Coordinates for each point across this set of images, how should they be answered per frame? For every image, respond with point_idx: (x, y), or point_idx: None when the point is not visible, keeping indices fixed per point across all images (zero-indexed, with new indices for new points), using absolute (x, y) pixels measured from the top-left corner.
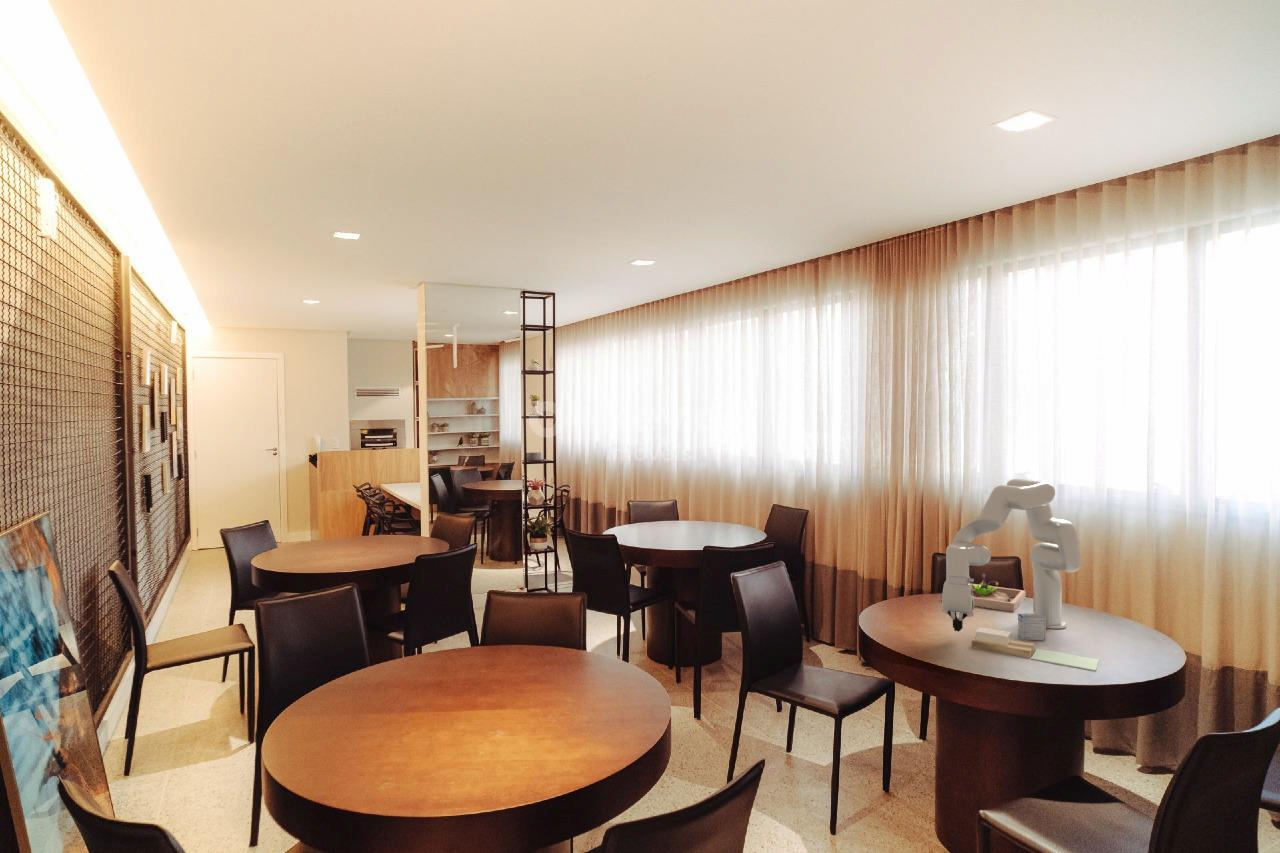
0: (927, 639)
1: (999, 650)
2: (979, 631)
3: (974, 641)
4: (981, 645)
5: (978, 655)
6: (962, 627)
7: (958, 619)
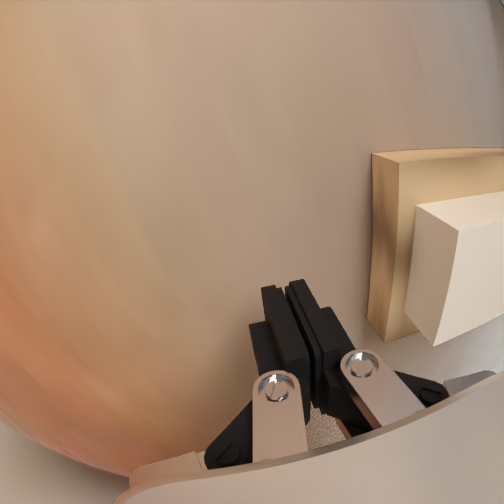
0: (128, 364)
1: None
2: (450, 331)
3: (396, 337)
4: None
5: None
6: (330, 309)
7: (330, 405)
